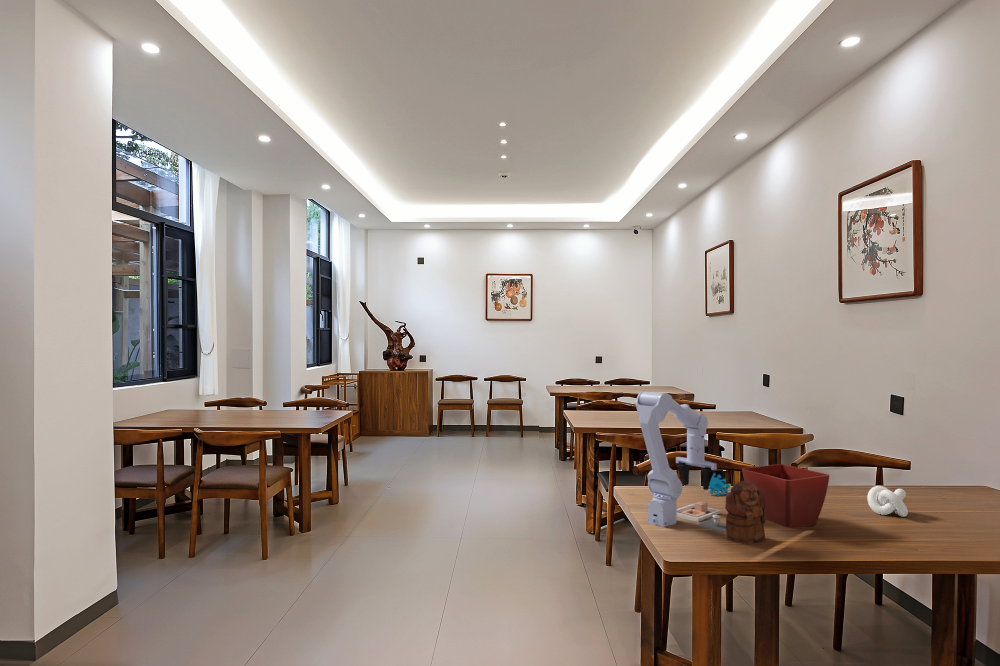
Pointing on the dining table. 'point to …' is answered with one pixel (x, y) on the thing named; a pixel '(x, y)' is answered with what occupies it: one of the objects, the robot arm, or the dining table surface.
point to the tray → (714, 512)
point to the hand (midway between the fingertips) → (695, 487)
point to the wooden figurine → (745, 514)
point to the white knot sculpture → (887, 501)
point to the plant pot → (789, 493)
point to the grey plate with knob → (714, 524)
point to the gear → (718, 485)
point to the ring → (697, 510)
